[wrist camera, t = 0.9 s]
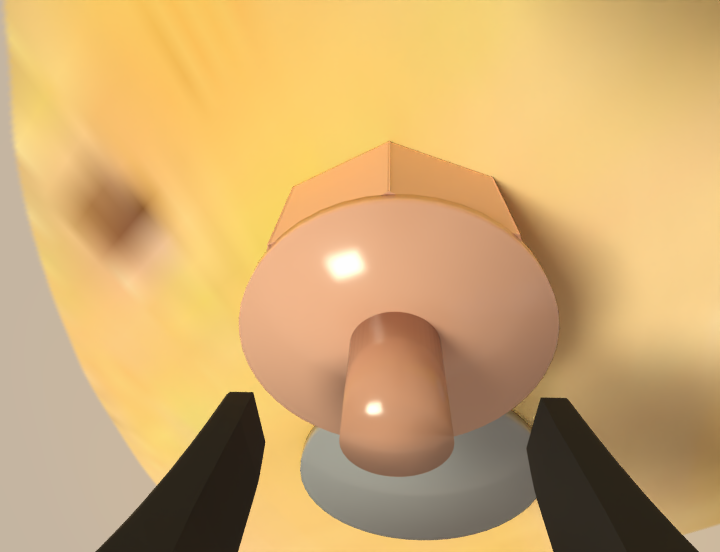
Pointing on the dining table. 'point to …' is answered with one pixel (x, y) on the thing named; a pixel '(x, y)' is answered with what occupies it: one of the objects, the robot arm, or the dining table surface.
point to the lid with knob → (398, 308)
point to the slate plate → (427, 485)
